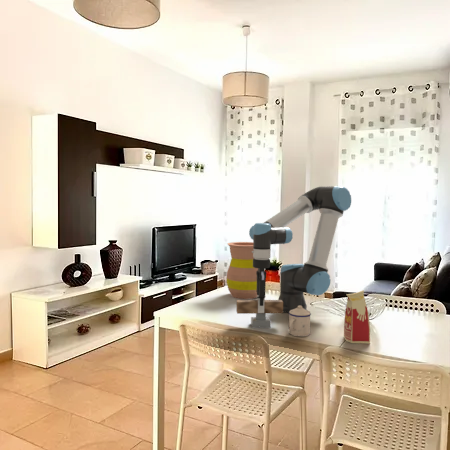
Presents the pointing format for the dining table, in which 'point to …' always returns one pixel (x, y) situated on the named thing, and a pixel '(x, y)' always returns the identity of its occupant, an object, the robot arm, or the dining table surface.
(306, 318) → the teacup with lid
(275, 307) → the walnut bar
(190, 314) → the dining table surface
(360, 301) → the milk carton
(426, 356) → the dining table surface
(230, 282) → the vase
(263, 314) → the block
